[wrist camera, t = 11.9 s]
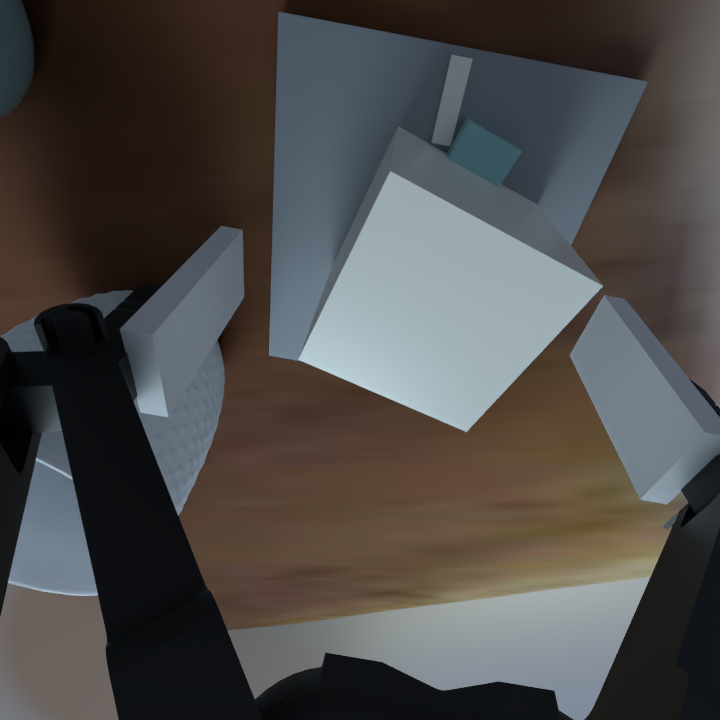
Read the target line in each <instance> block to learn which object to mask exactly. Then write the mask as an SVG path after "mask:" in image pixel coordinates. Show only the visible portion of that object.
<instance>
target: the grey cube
mask: <svg viewBox="0 0 720 720" xmlns="http://www.w3.org/2000/svg"><path fill="white" fill-rule="evenodd" d="M521 152H522V151H521V150H520V149H519V148H518V147H517V146H516V145H514V144H512V143H511V142H509V141H507V140H505V139H504V138H502V137H500V136H499V135H497V134H495V133H494V132H492V131H490V130H488V129H487V128H485V127H483V126H482V125H480V124H478V123H477V122H475V121H473V120H471V119H470V118H468V117H466V118H465V120H464V122H463V124H462V126H461V127H460V129H459V131H458V133H457V135H456V136H455V138H454V140H453V142H452V144H451V146H450V147H449V149H448V151H447V153H445V152H443V151H442V150H440V149H438V148H436V147H435V146H433V145H431V144H429V143H427V142H426V141H424V140H422V139H420V138H419V137H417V136H415V135H413V134H411V133H410V132H408V131H406V130H404V129H403V128H401V127H399V126H398V127H397V130H396V132H395V134H394V136H393V138H392V140H391V142H390V144H389V147H388V149H387V151H386V153H385V155H384V157H383V159H382V161H381V164H380V166H379V168H378V170H377V172H376V174H375V176H374V178H373V181H372V183H371V185H370V187H369V189H368V191H367V193H366V195H365V198H364V200H363V202H362V204H361V206H360V208H359V210H358V213H357V215H356V217H355V219H354V221H353V223H352V225H351V227H350V230H349V232H348V234H347V236H346V238H345V240H344V242H343V244H342V247H341V249H340V251H339V253H338V255H337V257H336V259H335V261H334V264H333V266H332V268H331V271H330V274H329V276H328V279H327V282H326V285H325V287H324V290H323V293H322V296H321V298H320V301H319V304H318V307H317V309H316V312H315V315H314V318H313V320H312V323H311V326H310V329H309V331H308V334H307V337H306V340H305V342H304V345H303V348H302V350H301V353H300V356H299V359H298V360H300V361H303V362H305V363H307V364H310V365H312V366H314V367H317V368H319V369H321V370H324V371H326V372H328V373H331V374H333V375H335V376H338V377H340V378H342V379H345V380H347V381H349V382H352V383H354V384H356V385H359V386H361V387H363V388H366V389H368V390H370V391H373V392H375V393H377V394H380V395H382V396H384V397H387V398H389V399H391V400H394V401H396V402H398V403H400V404H403V405H405V406H407V407H410V408H412V409H414V410H417V411H419V412H421V413H424V414H426V415H428V416H431V417H433V418H435V419H438V420H440V421H442V422H445V423H447V424H449V425H452V426H454V427H456V428H459V429H461V430H463V431H466V432H467V431H468V430H469V429H470V427H471V426H472V425H473V424H474V423H475V422H476V421H477V420H478V419H479V418H480V417H481V416H482V415H483V414H484V413H485V411H486V410H487V409H488V408H489V407H490V406H491V405H492V404H493V403H494V402H495V401H496V400H497V399H498V398H499V397H500V395H501V394H502V393H503V392H504V391H505V390H506V389H507V388H508V387H509V386H510V385H511V384H512V383H513V382H514V381H515V379H516V378H517V377H518V376H519V375H520V374H521V373H522V372H523V371H524V370H525V369H526V368H527V367H528V366H529V365H530V363H531V362H532V361H533V360H534V359H535V358H536V357H537V356H538V355H539V354H540V353H541V352H542V351H543V350H544V349H545V347H546V346H547V345H548V344H549V343H550V342H551V341H552V340H553V339H554V338H555V337H556V336H557V335H558V334H559V333H560V331H561V330H562V329H563V328H564V327H565V326H566V325H567V324H568V323H569V322H570V321H571V320H572V319H573V318H574V317H575V315H576V314H577V313H578V312H579V311H580V310H581V309H582V308H583V307H584V306H585V305H586V304H587V303H588V302H589V301H590V299H591V298H592V297H593V296H594V295H595V294H596V293H597V292H598V291H599V290H600V289H601V288H602V287H603V285H602V284H601V283H600V282H599V280H598V279H597V278H596V277H595V275H594V274H593V273H592V272H591V270H590V269H589V268H588V267H587V265H586V264H585V263H584V262H583V260H582V259H581V258H580V257H579V255H578V254H577V253H576V252H575V251H574V249H573V248H572V247H571V246H570V244H569V243H568V242H567V241H566V239H565V238H564V237H563V236H562V234H561V233H560V232H559V231H558V229H557V228H556V227H555V226H554V224H553V223H552V222H551V221H550V219H549V218H548V217H547V216H546V214H545V213H544V212H543V211H542V209H541V208H540V207H539V206H538V205H537V204H535V203H534V202H532V201H530V200H528V199H527V198H525V197H523V196H521V195H520V194H518V193H516V192H514V191H512V190H511V189H509V188H507V187H505V186H504V185H502V184H501V183H502V181H503V180H504V178H505V177H506V175H507V174H508V172H509V171H510V169H511V168H512V166H513V165H514V163H515V162H516V160H517V159H518V157H519V156H520V154H521Z"/></svg>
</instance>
